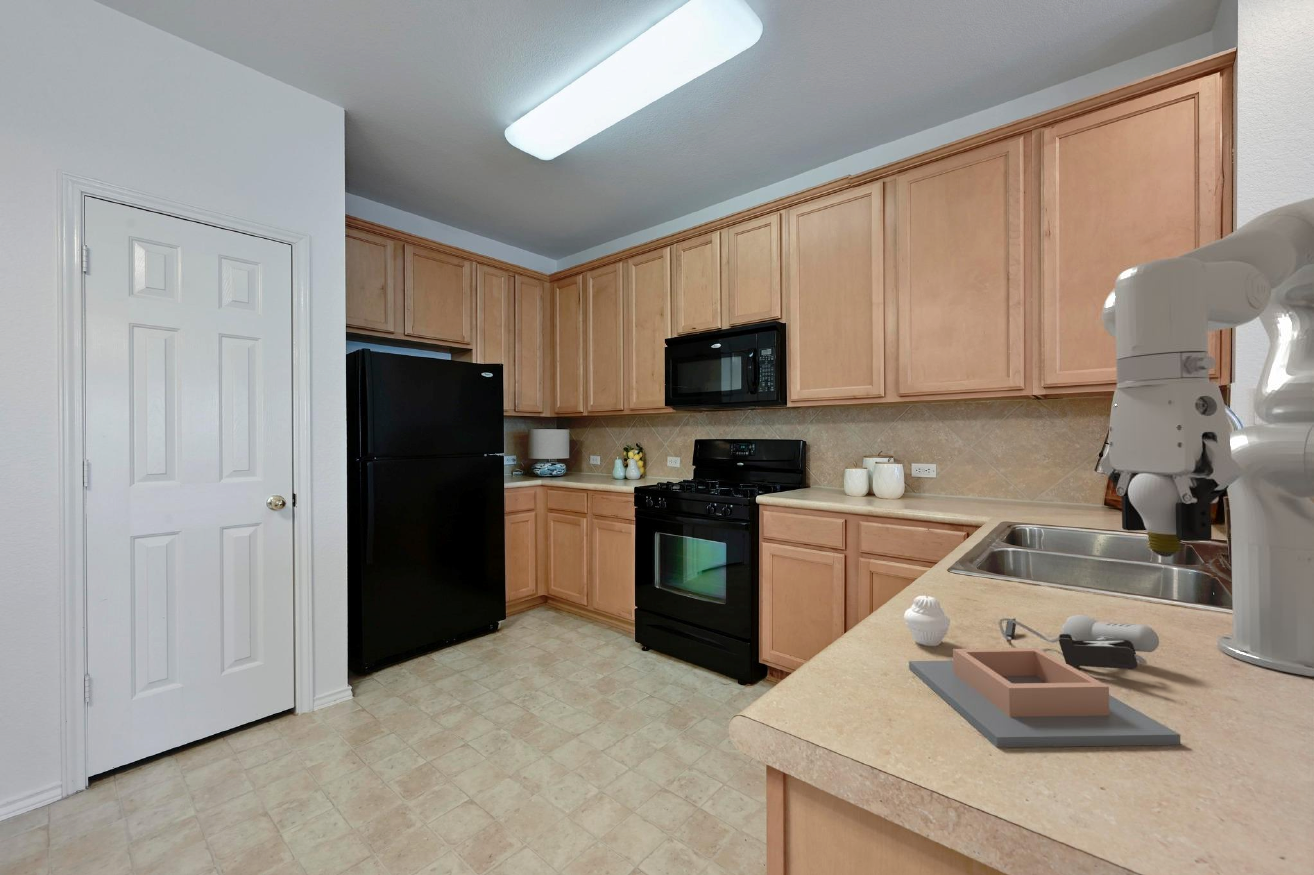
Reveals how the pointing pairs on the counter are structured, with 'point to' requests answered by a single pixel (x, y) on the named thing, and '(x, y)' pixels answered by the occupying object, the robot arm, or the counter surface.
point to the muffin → (927, 621)
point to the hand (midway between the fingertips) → (1164, 533)
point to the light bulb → (1157, 510)
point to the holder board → (1036, 701)
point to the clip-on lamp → (1097, 642)
